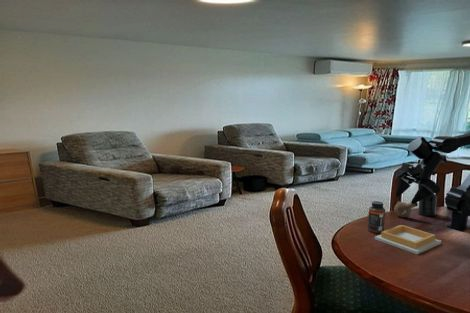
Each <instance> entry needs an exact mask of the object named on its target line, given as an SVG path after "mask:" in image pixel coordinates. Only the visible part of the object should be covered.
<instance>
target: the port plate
mask: <svg viewBox="0 0 470 313" xmlns="http://www.w3.org/2000/svg"><path fill="white" fill-rule="evenodd" d="M436 236H437V234H434V233H430V232H426V231H424V230H421V229H417V228H414V227H411V226H407V225H404V224H399V225H396V226H394V227H390V228H389V229H384V231H382V232H381V233H380V234H378V235H375V236H374V240H375V241H378V242H380V243H383V244H386V245H390V246H392V247H395V248H397V249H401V250H404V251H406V252H409V253H412V254H414V255H419V254H421V253H424V252H425V251H428V250H430V249H432V248H434V247H437V246H438V245H441V244H442V240H441V239H437V238H436Z"/></svg>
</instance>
